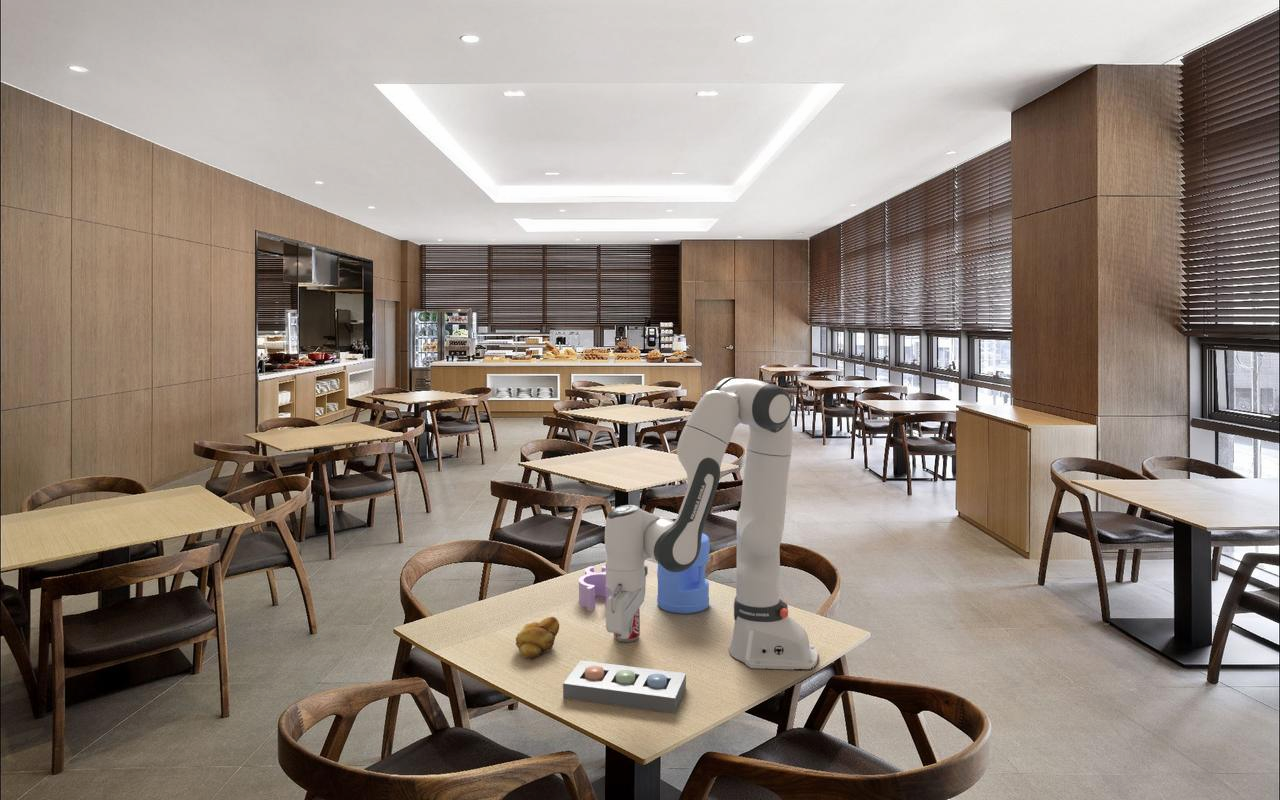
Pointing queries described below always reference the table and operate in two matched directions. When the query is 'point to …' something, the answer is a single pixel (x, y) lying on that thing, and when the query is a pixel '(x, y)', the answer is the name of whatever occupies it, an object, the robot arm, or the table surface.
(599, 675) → the button terracotta
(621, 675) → the button sage
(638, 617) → the soda can
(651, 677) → the button slate
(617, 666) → the console
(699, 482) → the robot arm
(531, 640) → the bread roll
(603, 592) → the clip
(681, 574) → the water jug
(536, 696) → the table surface
